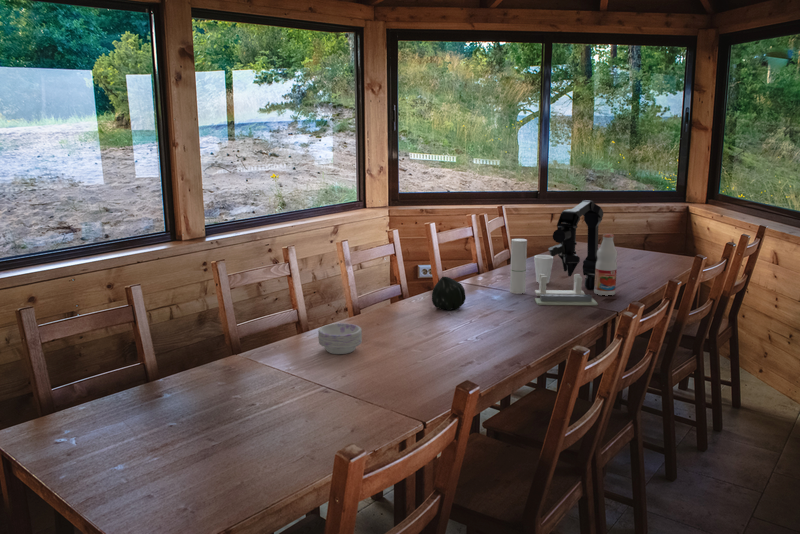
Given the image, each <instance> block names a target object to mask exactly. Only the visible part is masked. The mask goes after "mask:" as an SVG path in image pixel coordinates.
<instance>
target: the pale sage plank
mask: <svg viewBox="0 0 800 534" xmlns="http://www.w3.org/2000/svg"><path fill="white" fill-rule="evenodd" d="M534 301H535V303H536V305H538V306H598V305H599V304H598V302H597V301H596V300H595V299H594V298H592V302H541V301H540V297H535V298H534Z"/></svg>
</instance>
